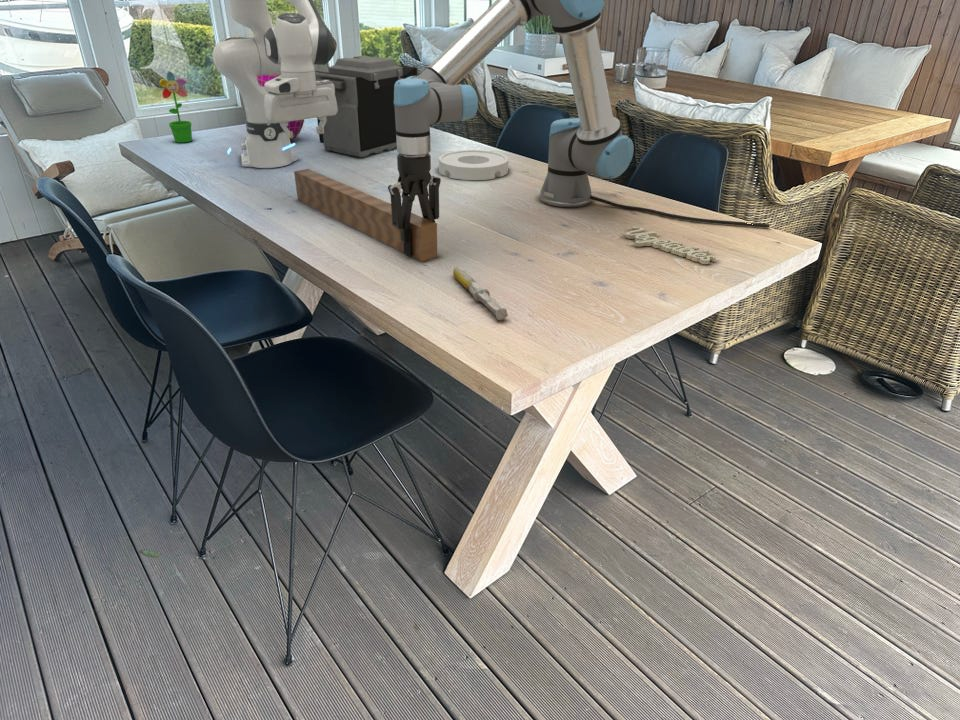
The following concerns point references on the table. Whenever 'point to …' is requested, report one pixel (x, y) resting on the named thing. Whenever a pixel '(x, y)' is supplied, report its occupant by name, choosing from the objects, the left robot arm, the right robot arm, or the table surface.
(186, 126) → the potted flower
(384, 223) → the post
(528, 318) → the table surface
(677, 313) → the table surface
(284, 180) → the table surface
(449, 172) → the ashtray
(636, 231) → the decorative sign
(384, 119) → the cooler box
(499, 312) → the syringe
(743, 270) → the table surface
